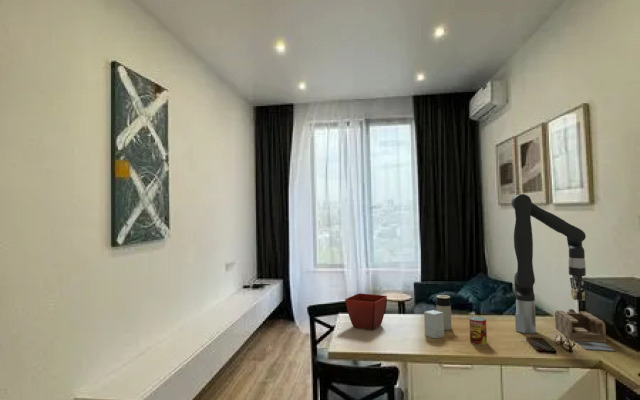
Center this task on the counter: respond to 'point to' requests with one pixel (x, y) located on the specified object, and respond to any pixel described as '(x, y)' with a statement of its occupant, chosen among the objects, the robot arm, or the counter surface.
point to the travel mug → (444, 309)
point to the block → (574, 294)
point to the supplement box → (434, 324)
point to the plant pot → (366, 310)
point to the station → (583, 329)
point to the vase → (571, 311)
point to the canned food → (478, 330)
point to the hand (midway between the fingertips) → (577, 298)
